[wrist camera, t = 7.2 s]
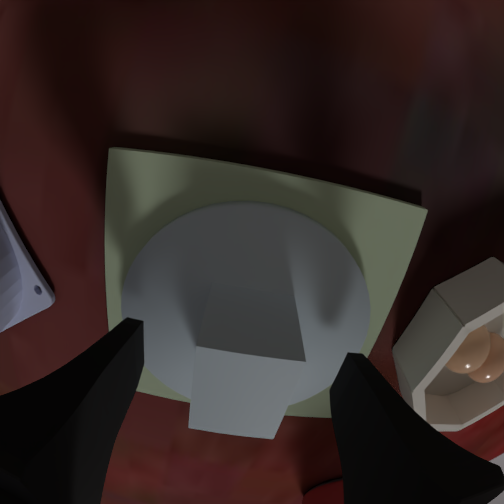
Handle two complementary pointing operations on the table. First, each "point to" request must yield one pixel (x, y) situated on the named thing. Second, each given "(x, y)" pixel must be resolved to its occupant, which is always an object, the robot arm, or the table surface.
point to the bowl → (456, 350)
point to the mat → (263, 190)
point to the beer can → (326, 493)
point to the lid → (246, 312)
